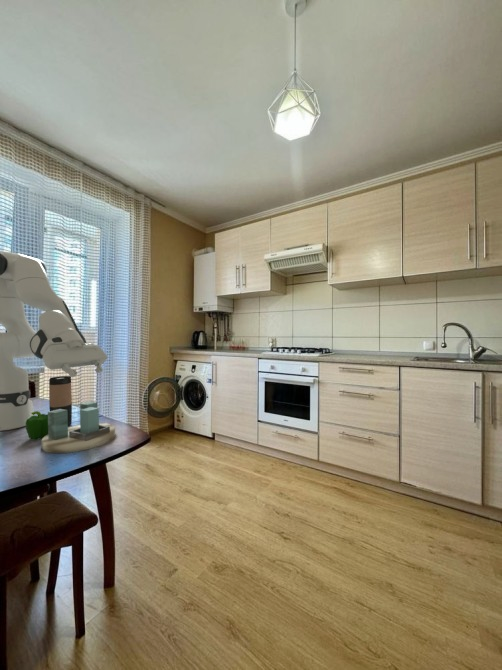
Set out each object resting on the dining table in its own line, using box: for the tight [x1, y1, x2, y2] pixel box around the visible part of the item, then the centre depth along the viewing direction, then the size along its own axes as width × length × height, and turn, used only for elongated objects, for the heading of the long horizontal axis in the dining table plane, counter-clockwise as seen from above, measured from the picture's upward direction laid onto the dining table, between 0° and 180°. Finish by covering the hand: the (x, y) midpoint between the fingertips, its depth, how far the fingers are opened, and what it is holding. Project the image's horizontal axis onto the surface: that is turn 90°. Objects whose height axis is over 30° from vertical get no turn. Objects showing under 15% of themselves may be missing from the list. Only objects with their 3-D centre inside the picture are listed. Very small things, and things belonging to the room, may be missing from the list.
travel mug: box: [48, 375, 73, 427], centre depth 114 cm, size 8×8×20 cm
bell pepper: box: [25, 410, 48, 441], centre depth 101 cm, size 8×8×10 cm
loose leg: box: [79, 407, 100, 434], centre depth 96 cm, size 4×4×9 cm
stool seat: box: [41, 401, 116, 454], centre depth 98 cm, size 22×22×12 cm
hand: (87, 373), depth 96 cm, fingers open, 8 cm apart
